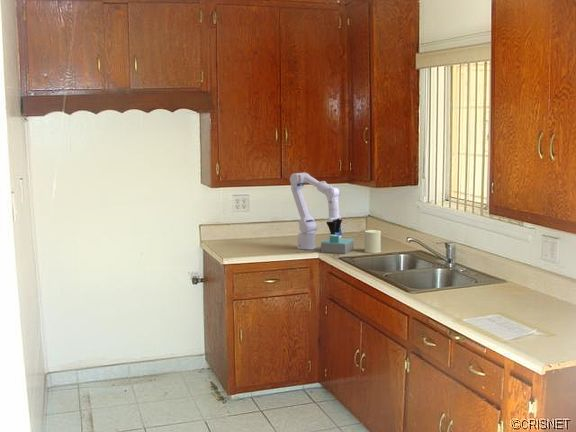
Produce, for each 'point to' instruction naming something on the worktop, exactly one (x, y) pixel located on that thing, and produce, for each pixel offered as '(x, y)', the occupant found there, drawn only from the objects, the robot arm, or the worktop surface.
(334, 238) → the lid
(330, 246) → the tub
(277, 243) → the worktop surface
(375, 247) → the can
